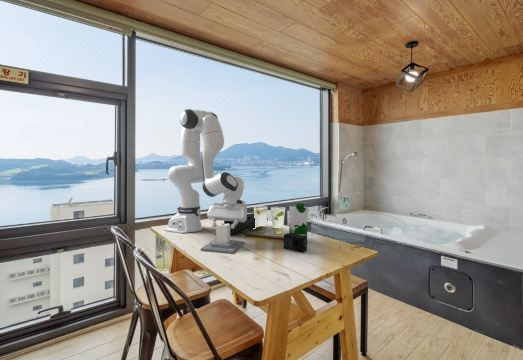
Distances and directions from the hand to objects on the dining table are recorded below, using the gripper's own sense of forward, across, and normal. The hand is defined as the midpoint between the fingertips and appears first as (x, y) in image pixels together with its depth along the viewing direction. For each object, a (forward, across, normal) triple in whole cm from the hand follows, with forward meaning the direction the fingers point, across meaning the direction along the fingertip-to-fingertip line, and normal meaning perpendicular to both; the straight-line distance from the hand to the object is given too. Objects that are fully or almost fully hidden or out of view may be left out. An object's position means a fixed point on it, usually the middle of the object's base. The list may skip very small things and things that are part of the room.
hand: (222, 227), depth 134 cm
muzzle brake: (-15, +2, +29) cm, 32 cm away
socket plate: (+7, 0, +6) cm, 9 cm away
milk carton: (-6, +34, +20) cm, 40 cm away
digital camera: (+4, +34, +10) cm, 36 cm away
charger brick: (+6, 0, +6) cm, 9 cm away
